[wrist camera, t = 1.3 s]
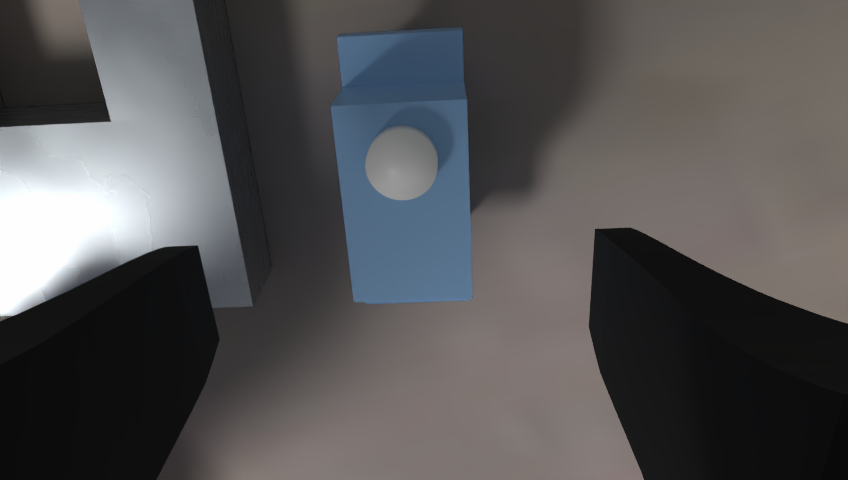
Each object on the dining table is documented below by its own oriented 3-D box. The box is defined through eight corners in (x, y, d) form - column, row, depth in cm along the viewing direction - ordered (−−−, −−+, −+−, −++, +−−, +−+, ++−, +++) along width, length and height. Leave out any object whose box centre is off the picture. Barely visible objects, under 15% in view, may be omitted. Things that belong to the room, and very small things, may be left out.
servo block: (466, 252, 21) (474, 348, 16) (375, 255, 21) (356, 353, 16) (459, 15, 18) (466, 46, 13) (352, 21, 18) (320, 53, 13)
